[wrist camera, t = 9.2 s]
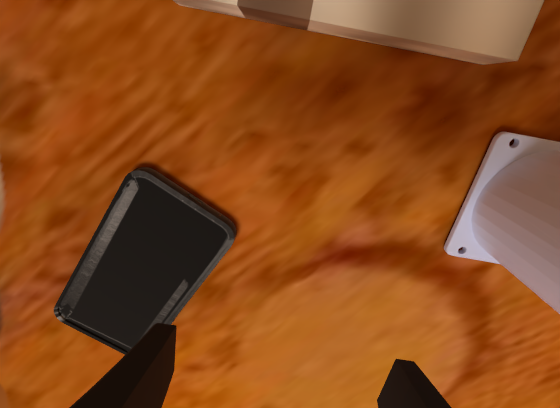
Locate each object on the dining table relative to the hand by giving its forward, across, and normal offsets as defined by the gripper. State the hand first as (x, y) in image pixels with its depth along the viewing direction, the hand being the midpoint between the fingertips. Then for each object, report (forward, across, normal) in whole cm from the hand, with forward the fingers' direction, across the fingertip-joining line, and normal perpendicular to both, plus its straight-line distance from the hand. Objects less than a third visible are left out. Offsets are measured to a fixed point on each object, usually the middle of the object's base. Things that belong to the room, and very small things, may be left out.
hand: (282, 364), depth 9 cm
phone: (+11, +10, +6) cm, 16 cm away
